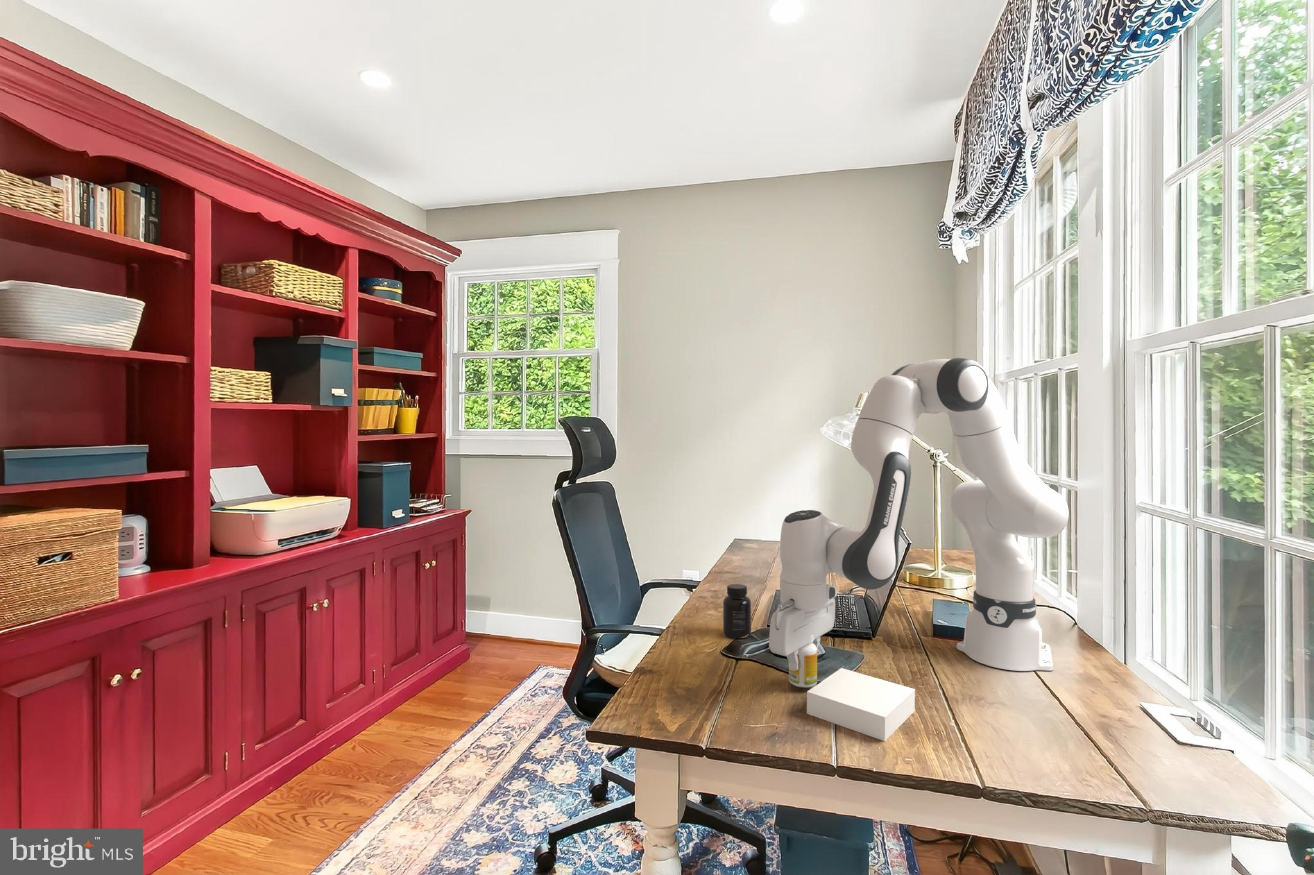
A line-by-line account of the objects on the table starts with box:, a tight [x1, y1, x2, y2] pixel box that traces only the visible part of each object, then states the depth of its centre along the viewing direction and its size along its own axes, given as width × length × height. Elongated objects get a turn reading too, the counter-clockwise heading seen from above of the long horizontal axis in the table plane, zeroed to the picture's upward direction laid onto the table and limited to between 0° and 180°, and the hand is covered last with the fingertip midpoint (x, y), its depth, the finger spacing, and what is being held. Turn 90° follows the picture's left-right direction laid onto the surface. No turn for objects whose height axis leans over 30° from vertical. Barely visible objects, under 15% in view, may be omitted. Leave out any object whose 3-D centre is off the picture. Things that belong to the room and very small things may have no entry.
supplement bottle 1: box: [722, 583, 752, 640], centre depth 148 cm, size 7×7×12 cm
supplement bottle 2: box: [788, 635, 818, 688], centre depth 119 cm, size 5×5×10 cm
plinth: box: [806, 667, 916, 742], centre depth 109 cm, size 14×14×4 cm
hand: (803, 663), depth 119 cm, fingers closed on supplement bottle 2, 5 cm apart
